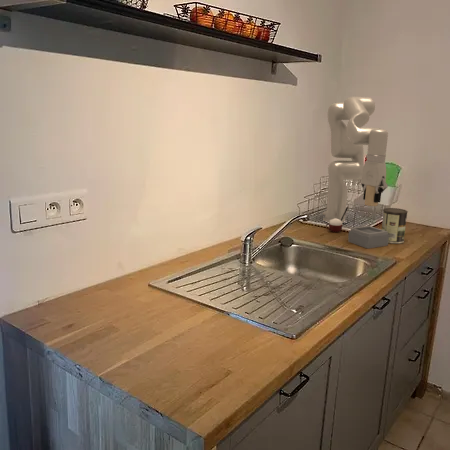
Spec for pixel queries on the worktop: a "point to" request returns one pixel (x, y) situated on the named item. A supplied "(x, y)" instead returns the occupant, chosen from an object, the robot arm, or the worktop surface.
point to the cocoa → (336, 224)
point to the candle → (370, 196)
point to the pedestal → (368, 237)
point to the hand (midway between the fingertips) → (371, 200)
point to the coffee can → (394, 224)
